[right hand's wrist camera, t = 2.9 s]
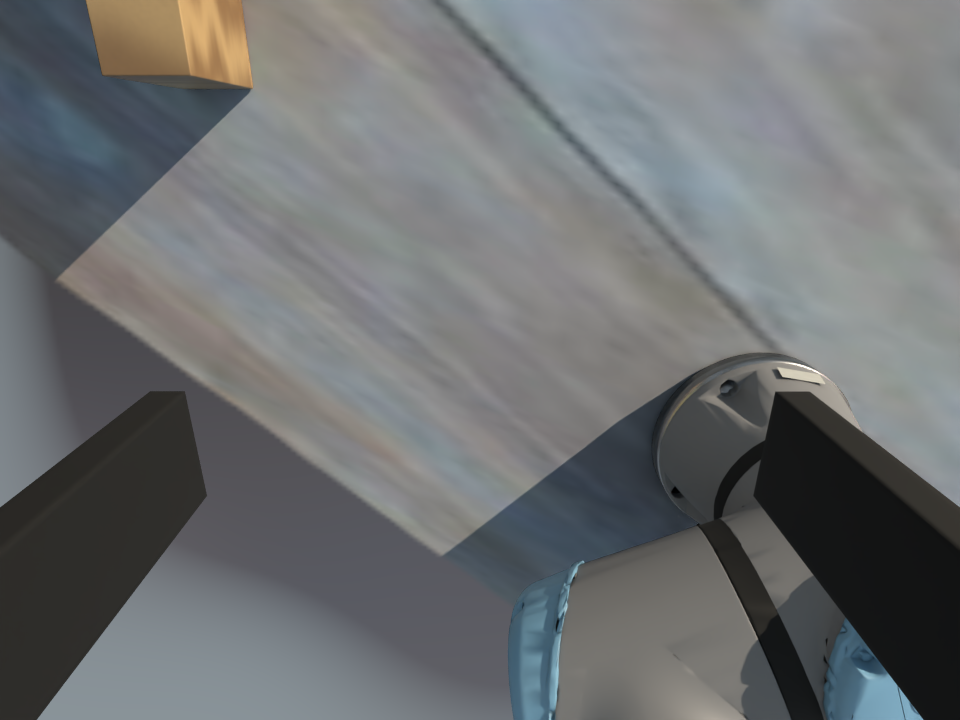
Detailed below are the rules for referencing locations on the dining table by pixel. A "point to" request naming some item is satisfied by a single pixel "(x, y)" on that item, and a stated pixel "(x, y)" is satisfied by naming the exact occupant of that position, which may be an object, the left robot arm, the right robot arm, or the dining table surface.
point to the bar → (172, 42)
